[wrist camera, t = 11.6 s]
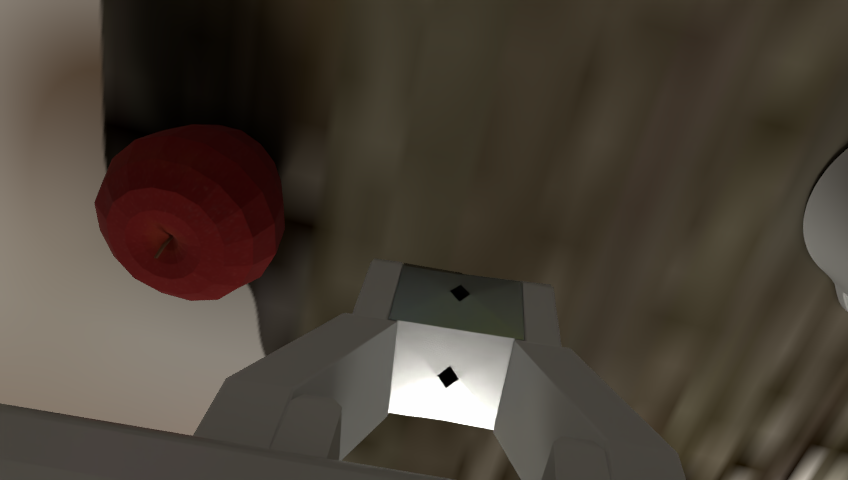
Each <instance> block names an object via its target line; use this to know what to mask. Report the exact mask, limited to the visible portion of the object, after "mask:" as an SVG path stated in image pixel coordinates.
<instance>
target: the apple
mask: <svg viewBox="0 0 848 480" xmlns="http://www.w3.org/2000/svg"><path fill="white" fill-rule="evenodd" d="M95 208H96V213H97V217H98V222H99V227H100V231H101V233H102V234H103V236H104V238H105V240H106V242H107V244H108V246H109V248H110V250H111V252H112V254H113V256H114V257H115V258H116V259H117V260H118V261H119V262H120V263H121V264H122V265H123V266H124V267H125V268H126V270H127V271H128V272H129V273H130V274H131V275H132V276H133V277H134V278H135V279H137V280H139V281H141V282H143V283H145V284H146V285H148V286H150V287H152V288H154V289H156V290H158V291H160V292H161V293H165V294H168V295H172V296H176V297H179V298H183V299H186V300H191V301H194V300H218V299H220V298H222V297H223V296H225V295H227V294H229V293H230V292H232V291H234V290H235V289H237V288H239V287H241V286H243V285H245V284H247V283H249V282H251V281H253V280H255V279H257V278H259V277H261V275H262V274H263V272H264V271H265V269H266V268H267V266H268V265H269V263H270V262H271V260H272V259H273V257H274V256H275V254H276V252H277V249H278V246H279V243H280V241H281V238H282V235H283V232H284V229H285V225H284V208H283V196H282V187H281V181H280V178H279V174H278V171H277V168H276V165H275V162H274V161H273V160H272V158H271V157H270V156H269V154H268V153H267V152H266V150H265V149H264V148H263V147H262V145H261V144H260V143H258V142H257V141H256V140H254V139H253V138H251V137H250V136H249V135H247V134H246V133H245V132H243V131H242V130H238V129H234V128H230V127H226V126H222V125H200V124H192V125H187V126H182V127H177V128H172V129H167V130H163V131H160V132H157V133H154V134H151V135H148V136H145V137H142V138H139V139H136V140H135V141H133V142H132V143H131V144H130V145H128V146H127V147H126V148H125V149H123V150H122V151H121V152H120V153H119V154H117V155H116V156H115V157H114V158H113V159H112V161H111V163H110V166H109V168H108V170H107V173H106V175H105V177H104V180H103V182H102V185H101V187H100V190H99V192H98V195H97V198H96V200H95Z"/></svg>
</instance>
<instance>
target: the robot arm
mask: <svg viewBox="0 0 848 480" xmlns="http://www.w3.org/2000/svg"><path fill="white" fill-rule="evenodd" d="M803 232H804V239H805V243H806V247H807V249H808V251H809V254H810V255H811V257H812V259H813V260H814V261H815V263H816V264H817V265H818V266H819V267H820V268H821V269H822V270H823V271H824V272H825V273H826V274H827V275H828V276H829V277H830V278H831V279H832V280H833V282H834V283H835V288H836V292H837V296H838V300H839V302H840V304H841V306H842V307H843V308H844V309H845V310H846V311H847V312H848V149H846V150H845V151H844V152H843V153H842V154H841V155H840V156H839V157H838V158H837V159H836V160H835V161H834V162H833V163H832V164H831V165H830V166H829V167H828V169H827V170H826V171H825V172H824V174H823V175H822V176H821V178H820V179H819V181H818V182H817V184H816V186H815V187H814V189H813V191H812V193H811V196H810V198H809V200H808V203H807V206H806V210H805V215H804V223H803ZM388 413H395V414H403V415H410V416H417V417H425V418H432V419H439V420H445V421H450V422H455V423H461V424H466V425H471V426H476V427H482V428H487V429H492V430H494V431H493V433H494V434H495V436H496V438H497V439H498V441H499V443H500V445H501V446H502V448H503V450H504V451H505V453H506V455H507V456H508V458H509V460H510V462H511V463H512V465H513V467H514V468H515V470H516V472H517V474H518V475H519V477H520V479H521V480H686V478H685V475H684V472H683V469H682V466H681V462H680V459H679V456H678V453H677V452H676V451H675V450H674V449H673V448H672V447H671V446H670V445H669V444H668V443H667V442H666V441H665V440H664V439H663V438H662V437H661V436H660V435H659V434H658V433H657V432H655V431H654V430H653V429H652V428H651V427H650V426H649V425H648V424H647V423H646V422H645V421H644V420H643V419H642V418H641V417H640V416H639V415H638V414H637V413H636V412H635V411H634V410H633V409H632V408H631V407H630V406H629V405H628V404H627V403H626V402H625V401H624V400H623V399H622V398H621V397H620V396H619V395H618V394H617V393H616V392H615V391H613V390H612V389H611V388H610V387H609V386H608V385H607V384H606V383H605V382H604V381H603V380H602V379H601V378H600V377H599V376H598V375H597V374H596V373H595V372H594V371H593V370H592V369H591V368H590V367H589V366H588V365H587V364H586V363H585V362H584V361H583V360H582V359H581V358H580V357H579V356H578V355H577V354H576V353H575V352H574V351H573V350H572V349H570V348H565V347H561V340H560V332H559V325H558V317H557V310H556V303H555V295H554V288H553V287H552V286H551V285H550V284H541V283H532V282H524V281H514V280H506V279H498V278H490V277H482V276H475V275H467V274H462V273H460V272H454V271H448V270H442V269H436V268H431V267H425V266H419V265H413V264H407V263H404V264H403V263H402V262H396V261H389V260H382V259H374V260H373V261H372V262H371V264H370V266H369V269H368V272H367V275H366V277H365V280H364V283H363V286H362V288H361V291H360V294H359V297H358V300H357V302H356V305H355V308H354V311H353V313H352V314H348V313H343V314H341V315H339V316H337V317H335V318H334V319H332V320H330V321H328V322H326V323H325V324H323V325H321V326H319V327H318V328H316V329H314V330H312V331H310V332H309V333H307V334H305V335H303V336H301V337H300V338H298V339H296V340H294V341H292V342H291V343H289V344H287V345H285V346H283V347H282V348H280V349H278V350H276V351H275V352H273V353H271V354H269V355H267V356H266V357H264V358H262V359H260V360H258V361H257V362H255V363H253V364H251V365H250V366H248V367H246V368H244V369H242V370H240V371H239V372H237V373H235V374H233V375H232V376H230V377H228V378H226V380H225V381H224V383H223V385H222V387H221V388H220V390H219V392H218V393H217V395H216V397H215V399H214V400H213V402H212V404H211V405H210V407H209V409H208V411H207V412H206V414H205V416H204V417H203V419H202V421H201V423H200V424H199V426H198V428H197V430H196V431H195V433H194V435H193V436H191V435H185V434H179V433H173V432H167V431H160V430H154V429H149V428H142V427H137V426H131V425H125V424H119V423H113V422H107V421H101V420H95V419H89V418H84V417H78V416H71V415H66V414H60V413H53V412H48V411H41V410H36V409H30V408H24V407H18V406H12V405H6V404H0V480H453V479H447V478H441V477H435V476H429V475H423V474H417V473H411V472H405V471H399V470H393V469H387V468H381V467H375V466H369V465H363V464H357V463H351V462H345V461H341V460H342V459H343V458H344V457H345V456H346V455H347V454H348V453H349V452H350V451H351V450H352V449H353V448H355V447H356V446H357V445H358V444H359V443H360V442H361V441H362V440H363V439H364V438H365V437H366V436H367V435H368V434H369V433H370V432H371V431H372V430H373V429H374V428H375V427H376V426H377V425H378V424H379V423H380V422H382V421H383V420H384V419H385V418H386V417H387V416H388Z"/></svg>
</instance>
